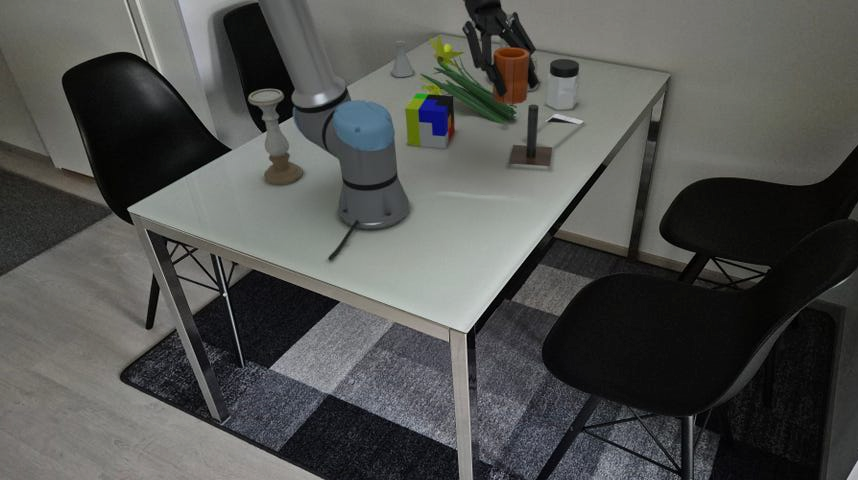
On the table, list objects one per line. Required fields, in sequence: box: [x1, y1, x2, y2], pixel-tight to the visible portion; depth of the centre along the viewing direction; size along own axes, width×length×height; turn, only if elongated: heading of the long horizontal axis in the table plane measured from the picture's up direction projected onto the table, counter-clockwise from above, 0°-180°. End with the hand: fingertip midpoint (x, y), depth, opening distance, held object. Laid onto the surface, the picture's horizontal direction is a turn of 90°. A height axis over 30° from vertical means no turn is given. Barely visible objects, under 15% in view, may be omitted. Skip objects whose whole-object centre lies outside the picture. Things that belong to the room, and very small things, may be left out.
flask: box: [391, 40, 414, 78], centre depth 200 cm, size 7×7×10 cm
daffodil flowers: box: [417, 34, 518, 126], centre depth 176 cm, size 17×15×35 cm
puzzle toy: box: [405, 92, 455, 149], centre depth 163 cm, size 10×10×10 cm
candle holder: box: [247, 88, 303, 186], centre depth 145 cm, size 9×9×20 cm
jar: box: [546, 58, 580, 111], centre depth 180 cm, size 9×8×12 cm
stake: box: [508, 103, 553, 167], centre depth 153 cm, size 10×10×14 cm
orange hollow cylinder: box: [492, 46, 529, 105], centre depth 139 cm, size 8×8×10 cm
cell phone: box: [544, 113, 585, 125], centre depth 169 cm, size 9×18×1 cm, turn 147°
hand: (519, 89), depth 138 cm, fingers closed on orange hollow cylinder, 8 cm apart
